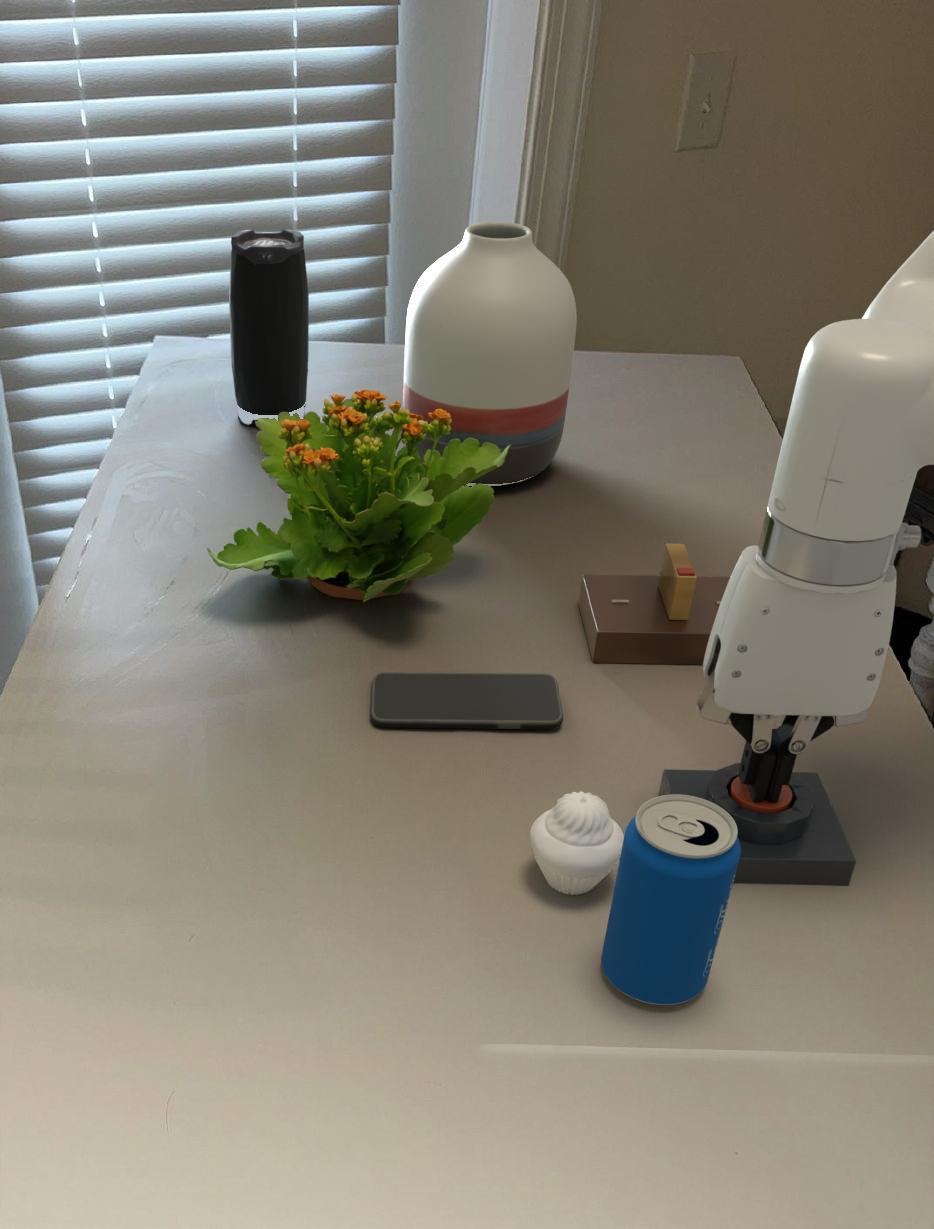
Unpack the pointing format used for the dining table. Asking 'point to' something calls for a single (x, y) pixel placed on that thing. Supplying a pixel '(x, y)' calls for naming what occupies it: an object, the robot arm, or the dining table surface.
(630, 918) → the beverage can
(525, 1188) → the dining table surface
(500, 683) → the smartphone
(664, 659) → the plate
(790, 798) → the button
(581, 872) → the muffin
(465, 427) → the vase
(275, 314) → the portable speaker
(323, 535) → the potted flower
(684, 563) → the yellow red-marked block
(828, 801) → the button block
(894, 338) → the robot arm
